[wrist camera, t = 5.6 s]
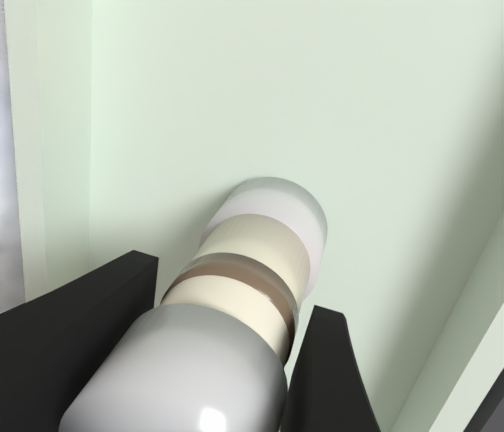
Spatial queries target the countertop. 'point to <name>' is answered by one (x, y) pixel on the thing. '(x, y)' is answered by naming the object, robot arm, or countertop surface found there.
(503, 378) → the fuse holder
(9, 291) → the countertop surface
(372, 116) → the parts tray
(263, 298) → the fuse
